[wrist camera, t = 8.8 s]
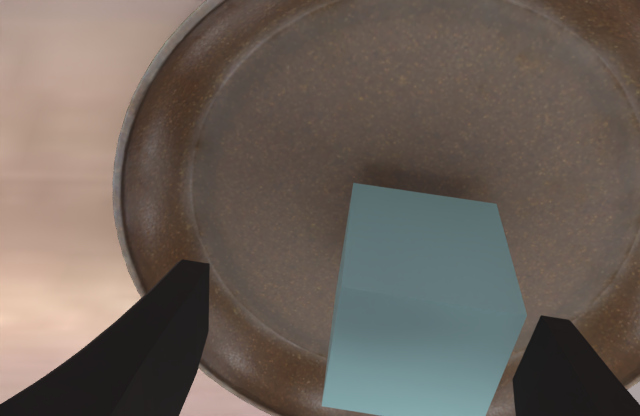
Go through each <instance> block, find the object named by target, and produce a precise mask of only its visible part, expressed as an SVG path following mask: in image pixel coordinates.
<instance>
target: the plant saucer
mask: <svg viewBox="0 0 640 416" xmlns="http://www.w3.org/2000/svg"><path fill="white" fill-rule="evenodd" d="M353 183H358V184H365V185H371V186H378V187H385V188H392V189H399V190H406V191H412V192H419V193H426V194H433V195H440V196H447V197H453V198H460V199H467V200H474V201H481V202H488V203H494V204H497V208H498V211H499V215H500V218H501V222H502V226H503V229H504V233H505V237H506V240H507V244H508V248H509V251H510V255H511V258H512V262H513V266H514V269H515V273H516V277H517V280H518V284H519V287H520V291H521V295H522V298H523V302H524V306H525V309H526V313H527V317H526V319H525V322H524V324H523V327H522V329H521V331H520V334H519V336H518V339H517V341H516V343H515V346H514V348H513V351H512V353H511V356H510V358H509V360H508V363H507V365H506V368H505V370H504V372H503V375H502V377H501V380H500V382H499V384H498V387H497V389H496V392H495V394H494V397H493V399H492V401H491V404H490V406H489V409H488V411H487V413H486V416H516V413H515V404H514V392H513V380H512V379H513V377H514V375H515V372H516V370H517V368H518V366H519V363H520V361H521V359H522V357H523V354H524V352H525V350H526V348H527V345H528V343H529V341H530V339H531V336H532V334H533V332H534V330H535V327H536V325H537V323H538V321H539V318H540V316H541V315H542V316H549V317H555V318H562V319H568V320H570V321H571V322H572V323H573V324H574V326H575V327H576V328H577V329H578V330H579V332H580V333H581V334H582V335H583V337H584V338H585V339H586V340H587V342H588V343H589V344H590V345H591V346H592V348H593V349H594V350H595V351H596V353H597V354H598V355H599V356H600V358H601V359H602V360H603V361H604V363H605V364H606V365H607V366H608V368H609V369H610V370H611V371H612V373H613V374H614V375H615V376H616V377H617V379H618V380H619V381H620V382H621V383H622V385H623V386H624V387H625V388H626V389H627V390H628V389H629V388H631V387H632V386H634V385H635V384H637V383H638V382H639V381H640V0H206V1H205V2H204V3H203V4H202V5H201V6H200V7H199V8H197V9H196V10H195V11H194V12H193V13H192V14H191V15H190V16H189V17H188V18H187V19H186V20H185V21H184V22H183V23H182V24H181V25H180V27H179V28H178V29H177V30H176V31H175V32H174V33H173V34H172V36H171V37H170V38H169V39H168V40H167V41H166V42H165V44H164V45H163V47H162V48H161V49H160V51H159V52H158V54H157V55H156V57H155V58H154V60H153V61H152V62H151V64H150V65H149V67H148V69H147V71H146V73H145V74H144V76H143V78H142V80H141V81H140V83H139V85H138V87H137V89H136V91H135V93H134V95H133V97H132V100H131V102H130V105H129V107H128V109H127V112H126V115H125V118H124V122H123V125H122V129H121V132H120V135H119V139H118V145H117V151H116V157H115V162H114V173H113V208H114V217H115V224H116V229H117V234H118V239H119V242H120V245H121V249H122V254H123V257H124V259H125V262H126V265H127V268H128V271H129V274H130V276H131V278H132V280H133V283H134V285H135V286H136V288H137V291H138V293H139V294H140V296H141V297H143V296H144V295H145V294H146V293H147V292H148V291H149V290H150V289H151V288H153V287H154V286H155V285H156V284H157V283H158V282H159V281H160V280H161V279H162V278H163V277H164V276H165V275H166V274H167V273H168V271H169V270H170V269H171V268H172V267H173V266H174V265H175V264H176V263H177V262H179V261H180V260H182V259H183V260H190V261H196V262H202V263H209V264H210V273H209V332H208V336H207V339H206V343H205V346H204V350H203V353H202V357H201V360H200V363H199V368H200V369H201V370H202V371H203V372H204V373H205V374H206V375H207V376H208V377H210V378H211V379H213V380H214V381H215V382H217V383H218V384H219V385H220V386H222V387H223V388H225V389H226V390H228V391H229V392H231V393H232V394H234V395H235V396H237V397H239V398H240V399H242V400H244V401H245V402H247V403H249V404H251V405H253V406H254V407H256V408H258V409H260V410H262V411H264V412H266V413H268V414H270V415H272V416H380V415H374V414H368V413H361V412H355V411H349V410H342V409H336V408H330V407H324V406H322V398H323V390H324V382H325V374H326V367H327V359H328V351H329V343H330V335H331V327H332V319H333V311H334V303H335V295H336V288H337V282H338V275H339V269H340V263H341V257H342V251H343V244H344V238H345V232H346V226H347V219H348V213H349V207H350V201H351V195H352V188H353Z"/></svg>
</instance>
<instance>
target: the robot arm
mask: <svg viewBox="0 0 640 416" xmlns="http://www.w3.org/2000/svg"><path fill="white" fill-rule="evenodd" d="M209 273H210V264H209V263H202V262H196V261H190V260H183V259H182V260H180V261H179V262H177V263H176V264H175V265H174V266H173V267H172V268H171V269H170V270H169V271H168V273H167V274H166V275H165V276H164V277H163V278H162V279H161V280H160V281H159V282H158V283H157V284H156V285H155V286H154V287H153V288H151V289H150V290H149V291H148V292H147V293H146V294H145V295H144V296H143V297H142V298H141V299H140V300H139V301H138V302H137V303H136V304H135V305H133V306H132V307H131V308H130V309H129V310H128V311H127V312H126V313H125V314H123V315H122V316H121V317H120V318H119V319H118V320H117V321H116V322H115V323H113V324H112V325H111V326H110V327H109V328H107V329H106V330H105V331H104V332H102V333H101V334H100V335H99V336H98V337H96V338H95V339H94V340H93V341H91V342H90V343H89V344H88V345H87V346H85V347H84V348H83V349H82V350H80V351H79V352H78V353H76V354H75V355H74V356H72V357H71V358H70V359H68V360H67V361H66V362H64V363H63V364H61V365H60V366H59V367H57V368H56V369H54V370H53V371H51V372H50V373H49V374H47V375H46V376H44V377H43V378H41V379H40V380H38V381H37V382H35V383H34V384H32V385H30V386H29V387H27V388H26V389H24V390H23V391H21V392H19V393H18V394H16V395H15V396H13V397H12V398H10V399H8V400H7V401H5V402H3V403H2V404H0V416H179V414H180V412H181V409H182V407H183V405H184V402H185V400H186V397H187V395H188V393H189V390H190V388H191V385H192V383H193V381H194V378H195V376H196V373H197V370H198V367H199V363H200V360H201V357H202V353H203V350H204V346H205V343H206V339H207V336H208V332H209ZM512 380H513V392H514V404H515V413H516V416H640V405H639V404H638V402H637V401H636V400H635V399H634V398H633V397H632V395H631V394H630V393H629V392H628V391H627V389H626V388H625V387H624V386H623V385H622V383H621V382H620V381H619V380H618V379H617V377H616V376H615V375H614V374H613V373H612V371H611V370H610V369H609V368H608V366H607V365H606V364H605V363H604V361H603V360H602V359H601V358H600V356H599V355H598V354H597V353H596V351H595V350H594V349H593V348H592V346H591V345H590V344H589V343H588V342H587V340H586V339H585V338H584V337H583V335H582V334H581V333H580V332H579V330H578V329H577V328H576V327H575V326H574V324H573V323H572V322H571V321H570V320H568V319H562V318H555V317H549V316H542V315H541V316H540V318H539V321H538V323H537V325H536V327H535V330H534V332H533V334H532V336H531V339H530V341H529V343H528V345H527V348H526V350H525V352H524V354H523V357H522V359H521V361H520V363H519V366H518V368H517V370H516V372H515V375H514V377H513V379H512Z"/></svg>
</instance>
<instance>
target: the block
mask: <svg viewBox="0 0 640 416" xmlns="http://www.w3.org/2000/svg"><path fill="white" fill-rule="evenodd" d="M526 317H527V313H526V309H525V306H524V302H523V298H522V295H521V291H520V287H519V284H518V280H517V277H516V273H515V269H514V266H513V262H512V258H511V255H510V251H509V248H508V244H507V240H506V237H505V233H504V229H503V226H502V222H501V218H500V215H499V211H498V208H497V204H494V203H488V202H481V201H474V200H467V199H460V198H453V197H447V196H440V195H433V194H426V193H419V192H412V191H406V190H399V189H392V188H385V187H378V186H371V185H365V184H358V183H353V188H352V195H351V201H350V207H349V213H348V219H347V226H346V232H345V238H344V244H343V251H342V257H341V263H340V269H339V275H338V282H337V288H336V295H335V303H334V311H333V319H332V327H331V335H330V343H329V351H328V359H327V367H326V374H325V382H324V390H323V398H322V406H324V407H330V408H336V409H342V410H349V411H355V412H361V413H368V414H374V415H380V416H486V413H487V411H488V409H489V406H490V404H491V401H492V399H493V397H494V394H495V392H496V389H497V387H498V384H499V382H500V380H501V377H502V375H503V372H504V370H505V368H506V365H507V363H508V360H509V358H510V356H511V353H512V351H513V348H514V346H515V343H516V341H517V339H518V336H519V334H520V331H521V329H522V327H523V324H524V322H525V319H526Z"/></svg>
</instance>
